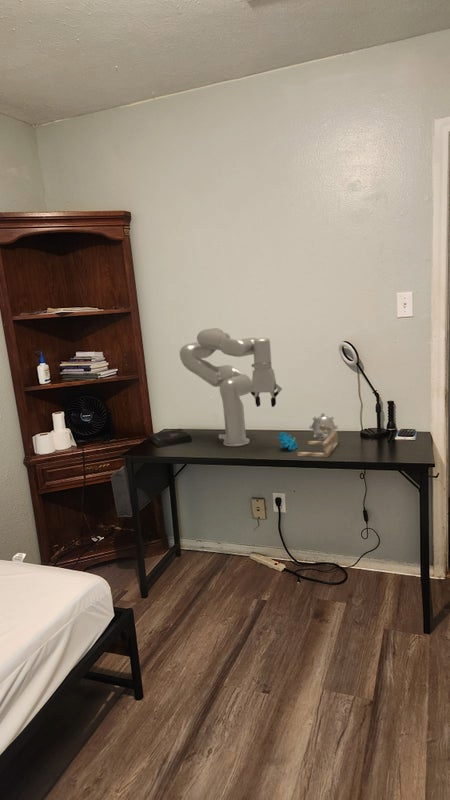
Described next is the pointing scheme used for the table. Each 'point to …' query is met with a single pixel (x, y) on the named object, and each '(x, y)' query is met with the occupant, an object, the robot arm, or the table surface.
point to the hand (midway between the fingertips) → (265, 405)
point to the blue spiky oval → (287, 441)
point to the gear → (323, 427)
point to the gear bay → (327, 446)
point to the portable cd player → (170, 438)
